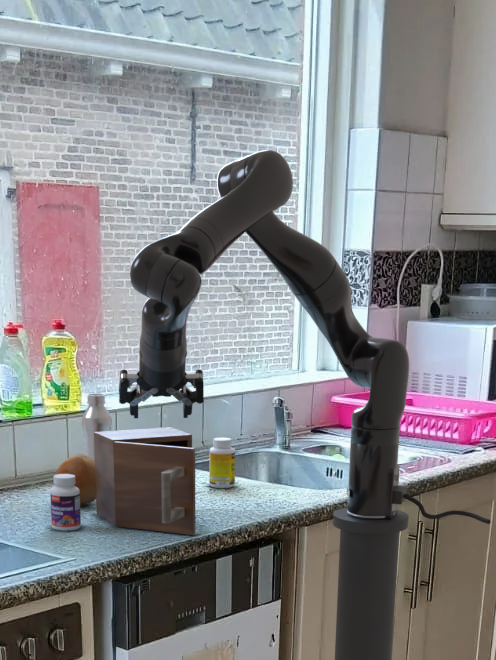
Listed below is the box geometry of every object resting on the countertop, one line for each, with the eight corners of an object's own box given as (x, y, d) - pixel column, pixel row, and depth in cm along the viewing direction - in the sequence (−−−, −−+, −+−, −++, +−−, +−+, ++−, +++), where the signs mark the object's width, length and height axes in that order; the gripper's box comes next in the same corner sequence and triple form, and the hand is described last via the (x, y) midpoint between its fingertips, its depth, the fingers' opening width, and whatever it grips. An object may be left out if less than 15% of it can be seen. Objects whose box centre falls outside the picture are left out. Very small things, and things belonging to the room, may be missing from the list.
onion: (56, 499, 246) (54, 450, 243) (105, 499, 247) (103, 450, 244) (53, 510, 237) (51, 459, 234) (104, 509, 238) (102, 459, 235)
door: (177, 543, 213) (176, 454, 208) (98, 534, 219) (95, 447, 213) (195, 534, 220) (195, 448, 214) (118, 525, 226) (116, 441, 220)
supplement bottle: (235, 488, 259) (235, 441, 255) (209, 488, 259) (209, 440, 255) (234, 483, 264) (235, 436, 260) (209, 483, 264) (209, 436, 260)
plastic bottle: (84, 494, 252) (80, 396, 244) (83, 487, 258) (79, 392, 251) (115, 493, 253) (112, 396, 245) (113, 487, 259) (110, 392, 252)
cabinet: (192, 517, 233) (192, 434, 227) (115, 525, 226) (113, 440, 220) (171, 507, 241) (170, 427, 235) (96, 514, 234) (93, 432, 228)
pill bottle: (47, 530, 222) (45, 477, 218) (57, 523, 227) (54, 472, 223) (76, 531, 221) (74, 479, 217) (84, 525, 226) (82, 473, 222)
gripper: (205, 333, 195) (200, 396, 210) (117, 333, 193) (118, 396, 208) (208, 371, 192) (202, 431, 207) (119, 371, 190) (119, 432, 205)
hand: (160, 414), depth 207 cm, fingers open, 8 cm apart
